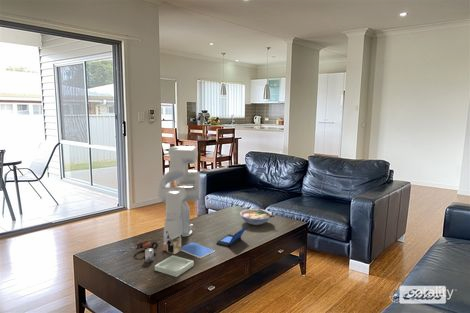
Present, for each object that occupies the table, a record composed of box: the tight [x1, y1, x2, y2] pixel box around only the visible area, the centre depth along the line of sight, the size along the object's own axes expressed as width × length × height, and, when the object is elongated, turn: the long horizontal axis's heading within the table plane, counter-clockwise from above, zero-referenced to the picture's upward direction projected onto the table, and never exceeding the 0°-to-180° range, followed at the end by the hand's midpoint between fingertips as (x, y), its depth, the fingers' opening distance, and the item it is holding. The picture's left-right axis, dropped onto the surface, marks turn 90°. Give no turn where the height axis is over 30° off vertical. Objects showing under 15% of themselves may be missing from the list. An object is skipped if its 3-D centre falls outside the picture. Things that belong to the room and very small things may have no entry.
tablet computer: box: [180, 241, 216, 259], centre depth 192 cm, size 19×13×1 cm, turn 49°
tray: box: [154, 254, 195, 278], centre depth 170 cm, size 14×14×2 cm
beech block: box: [166, 238, 182, 255], centre depth 168 cm, size 5×5×6 cm
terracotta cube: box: [162, 242, 167, 252], centre depth 193 cm, size 4×4×4 cm
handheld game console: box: [216, 226, 247, 248], centre depth 204 cm, size 16×13×9 cm
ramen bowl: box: [239, 207, 275, 226], centre depth 238 cm, size 25×23×8 cm
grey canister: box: [144, 248, 155, 263], centre depth 178 cm, size 4×4×6 cm
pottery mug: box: [136, 239, 159, 257], centre depth 188 cm, size 12×10×8 cm
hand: (174, 249), depth 169 cm, fingers closed on beech block, 5 cm apart
